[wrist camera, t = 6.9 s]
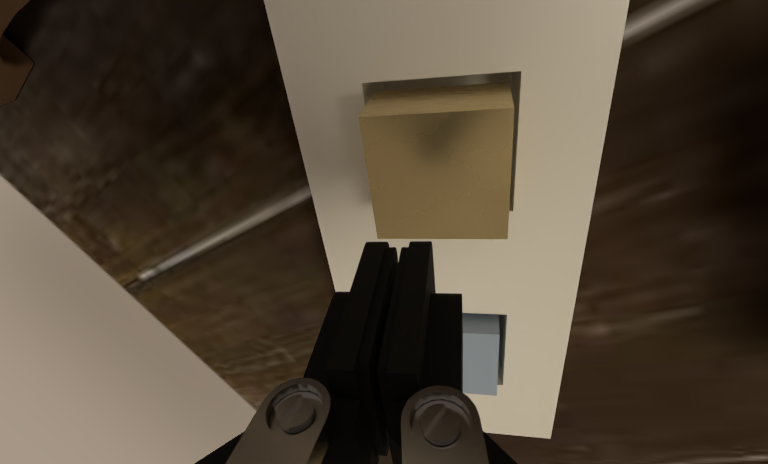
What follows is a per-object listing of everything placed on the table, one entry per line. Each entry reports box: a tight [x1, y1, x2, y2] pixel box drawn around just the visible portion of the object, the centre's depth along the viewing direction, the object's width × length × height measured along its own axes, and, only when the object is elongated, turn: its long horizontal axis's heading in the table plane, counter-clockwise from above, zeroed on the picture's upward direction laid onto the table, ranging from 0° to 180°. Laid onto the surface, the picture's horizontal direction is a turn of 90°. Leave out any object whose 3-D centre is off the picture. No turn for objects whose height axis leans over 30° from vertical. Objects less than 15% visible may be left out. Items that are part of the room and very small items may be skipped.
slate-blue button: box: [463, 313, 500, 396], centre depth 24 cm, size 5×5×3 cm
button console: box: [264, 0, 629, 439], centre depth 23 cm, size 28×12×6 cm, turn 7°
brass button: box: [358, 82, 515, 239], centre depth 16 cm, size 5×5×3 cm
